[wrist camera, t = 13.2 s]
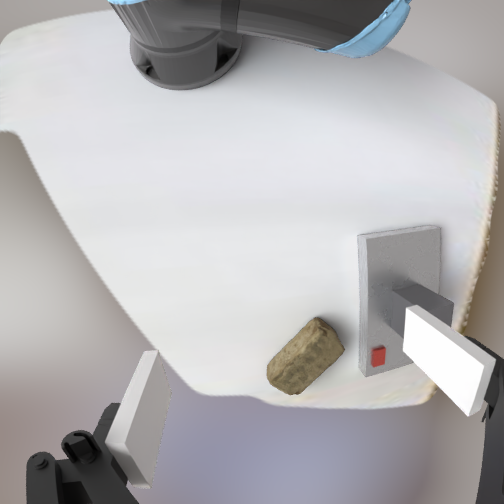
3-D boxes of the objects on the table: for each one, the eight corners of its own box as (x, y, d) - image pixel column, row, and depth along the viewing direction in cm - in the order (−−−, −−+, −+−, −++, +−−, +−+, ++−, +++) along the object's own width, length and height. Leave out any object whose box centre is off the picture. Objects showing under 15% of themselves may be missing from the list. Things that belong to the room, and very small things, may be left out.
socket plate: (357, 235, 42) (368, 239, 38) (429, 225, 42) (442, 228, 39) (358, 367, 46) (366, 379, 43) (422, 348, 47) (433, 357, 43)
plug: (382, 284, 43) (424, 312, 32) (409, 278, 44) (453, 303, 33) (382, 320, 45) (419, 354, 34) (408, 313, 45) (448, 343, 34)
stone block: (261, 366, 45) (265, 384, 40) (313, 311, 44) (324, 325, 39) (289, 383, 46) (295, 402, 41) (339, 332, 45) (351, 347, 40)
